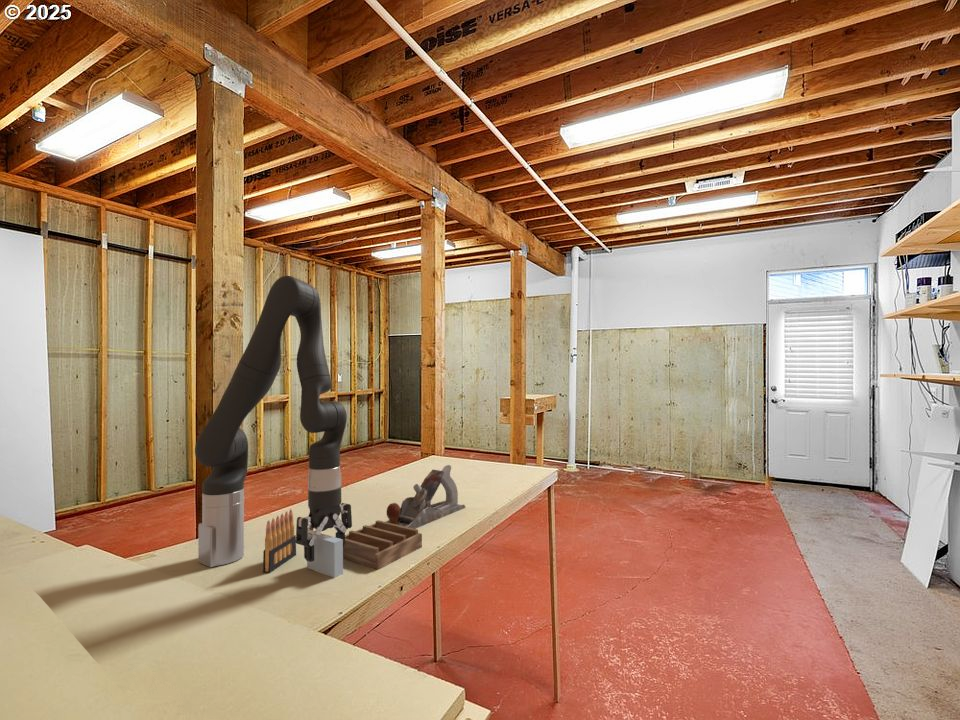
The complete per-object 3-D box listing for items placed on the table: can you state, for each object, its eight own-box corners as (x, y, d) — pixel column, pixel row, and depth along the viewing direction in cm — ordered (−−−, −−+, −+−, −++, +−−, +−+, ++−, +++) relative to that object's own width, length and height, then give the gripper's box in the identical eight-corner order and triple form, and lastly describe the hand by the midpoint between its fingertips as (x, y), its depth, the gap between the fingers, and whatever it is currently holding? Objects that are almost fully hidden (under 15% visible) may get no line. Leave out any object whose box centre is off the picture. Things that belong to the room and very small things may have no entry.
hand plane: (374, 532, 134) (373, 481, 134) (446, 503, 161) (446, 461, 161) (395, 538, 128) (394, 485, 129) (466, 508, 155) (466, 464, 156)
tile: (334, 578, 103) (334, 542, 104) (307, 568, 109) (306, 534, 109) (343, 574, 106) (342, 539, 106) (315, 564, 111) (315, 531, 111)
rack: (378, 569, 107) (377, 550, 107) (330, 554, 117) (330, 536, 117) (421, 546, 121) (421, 530, 121) (376, 535, 130) (376, 519, 130)
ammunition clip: (269, 573, 106) (269, 521, 107) (262, 572, 107) (262, 521, 107) (296, 554, 117) (296, 508, 117) (290, 554, 117) (289, 507, 117)
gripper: (309, 495, 100) (309, 569, 99) (358, 481, 112) (359, 547, 111) (288, 490, 104) (289, 562, 103) (338, 477, 116) (338, 541, 115)
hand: (325, 554), depth 107 cm, fingers open, 8 cm apart
